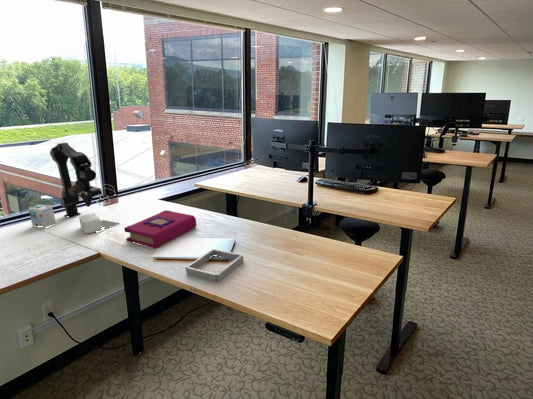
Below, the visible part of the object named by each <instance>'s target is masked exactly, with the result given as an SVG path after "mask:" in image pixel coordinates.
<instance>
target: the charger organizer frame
mask: <svg viewBox="0 0 533 399" xmlns="http://www.w3.org/2000/svg"><path fill="white" fill-rule="evenodd" d="M213 255H217V256H221V257H224V258H223V259H225V258H226V259H225V260H230V261H231V262H230V263H229V264H227V265H226V266H225V267H224V268H222V269H221V270H220V271H218V272H217V273H215V272H210V271H207V270H202V269H199V267H201V266H203V265H204V264H205V263H206V262H208V261H209V260H210V259H209V258H210V257H211V256H213ZM243 263H244V255H242V254H241V253H237V252H230V251H227V250H222V249H218V248H214V249H213V248H212V249H210V250H209V251H207V252H206V253H204V254H202V255H201V256H199V257H198V258H197V259H195V260H194V261H192V262H190V263H189V264H187V265H186V266H185V273H187V274H186V275H187V276H190V275H191V277H194V276H195V277H194V278H199V279H203V280H205V281H209V282H214V283H219V282H221V281H222V280H224V279H225V278H226V277H227V276H228V275H229V274H232V272H233V271H235V270H236V269H237V268H239V266H240V265H242V264H243Z"/></svg>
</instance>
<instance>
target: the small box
mask: <svg viewBox="0 0 533 399" xmlns="http://www.w3.org/2000/svg"><path fill="white" fill-rule="evenodd" d="M78 218H79V224H80V229H83V230H82V231H83V232H84V234H85V235H88V234H91V233H94V232H96V231H100V230H102V229H101V223H100V221H101V218H99V216H98V215H97V214H96V212H92V213H86V214H83V215H81V214H80V215H79V216H78Z"/></svg>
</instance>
